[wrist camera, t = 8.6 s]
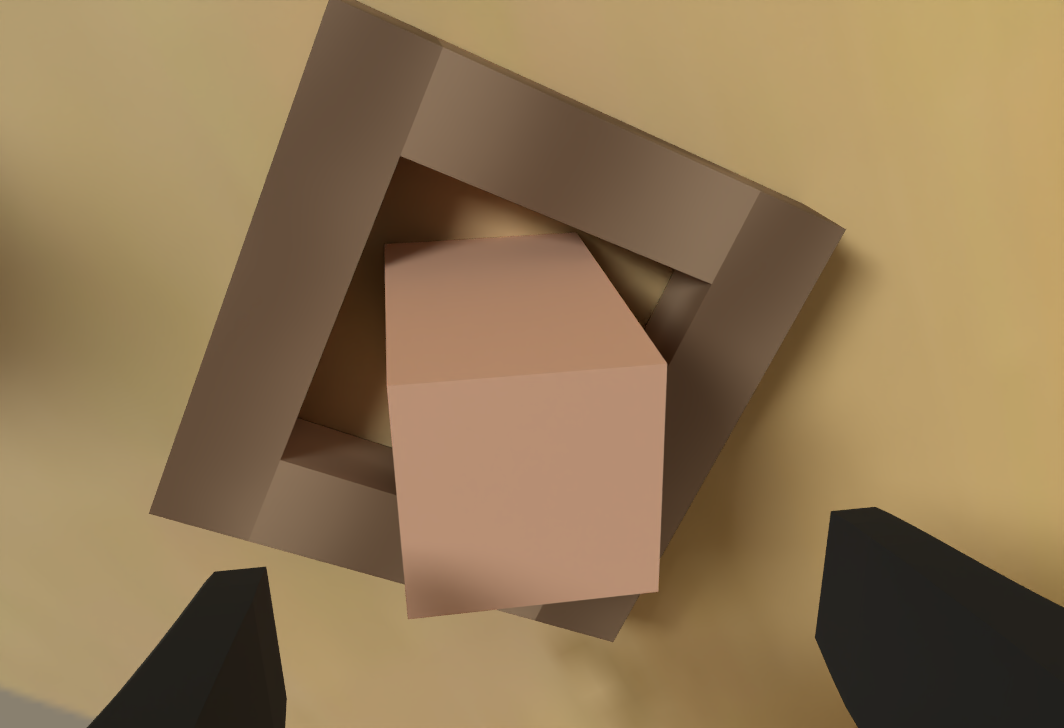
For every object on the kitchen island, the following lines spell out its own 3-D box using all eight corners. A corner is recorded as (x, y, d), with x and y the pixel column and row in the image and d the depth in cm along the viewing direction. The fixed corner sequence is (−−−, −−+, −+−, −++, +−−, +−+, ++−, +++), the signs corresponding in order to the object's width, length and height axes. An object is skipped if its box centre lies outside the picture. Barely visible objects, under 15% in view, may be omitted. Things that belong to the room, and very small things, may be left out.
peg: (576, 232, 20) (666, 363, 14) (576, 403, 22) (658, 591, 15) (384, 244, 20) (386, 385, 13) (399, 418, 21) (407, 619, 15)
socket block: (804, 204, 21) (845, 229, 19) (595, 589, 24) (613, 642, 22) (335, -9, 18) (330, -4, 16) (169, 464, 21) (148, 513, 19)
